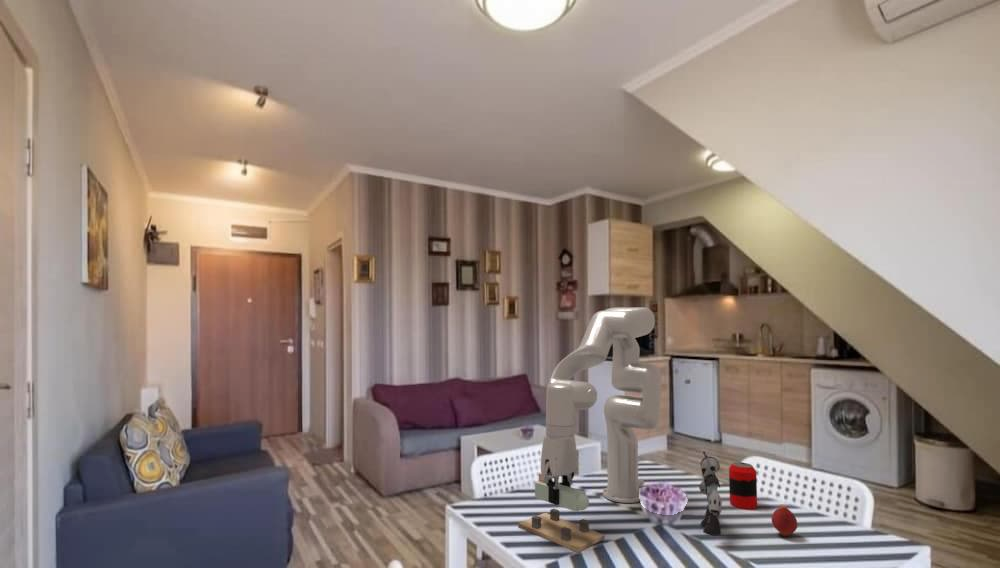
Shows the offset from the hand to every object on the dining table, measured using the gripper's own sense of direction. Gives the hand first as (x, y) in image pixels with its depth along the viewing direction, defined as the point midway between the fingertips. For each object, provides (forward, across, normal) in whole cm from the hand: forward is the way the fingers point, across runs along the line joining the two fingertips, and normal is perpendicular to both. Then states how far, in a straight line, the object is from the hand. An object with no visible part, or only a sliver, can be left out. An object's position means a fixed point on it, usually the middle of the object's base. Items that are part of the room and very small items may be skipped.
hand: (559, 500), depth 132 cm
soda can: (+8, -57, +25) cm, 63 cm away
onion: (+8, -42, +41) cm, 60 cm away
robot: (+8, -32, +26) cm, 42 cm away
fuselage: (0, 0, 0) cm, 0 cm away
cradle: (+8, 0, 0) cm, 8 cm away
